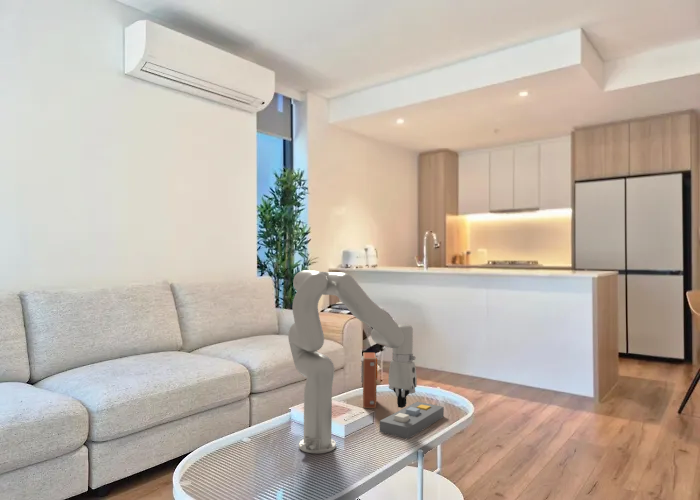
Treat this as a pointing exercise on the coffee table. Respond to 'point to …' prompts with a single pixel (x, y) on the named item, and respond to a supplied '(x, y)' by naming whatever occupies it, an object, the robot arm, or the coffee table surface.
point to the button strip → (411, 421)
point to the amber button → (423, 407)
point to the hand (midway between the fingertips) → (401, 406)
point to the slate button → (413, 411)
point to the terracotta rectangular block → (369, 379)
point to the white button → (401, 417)
